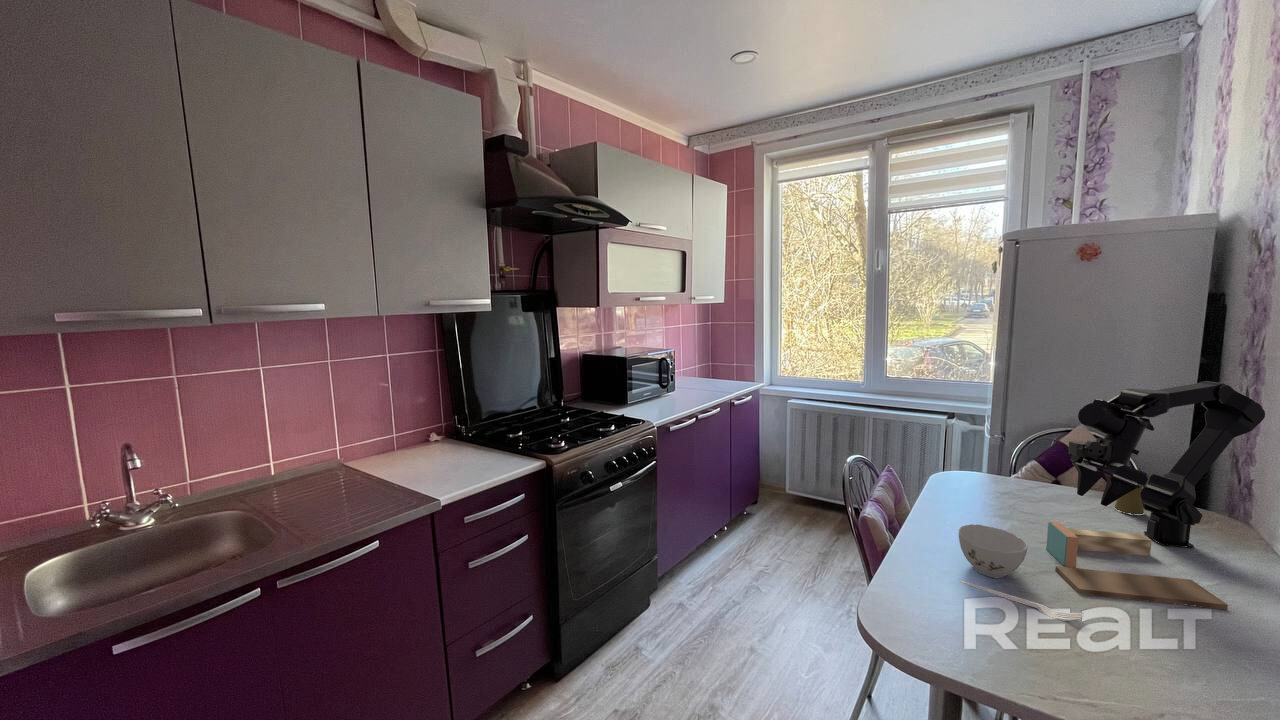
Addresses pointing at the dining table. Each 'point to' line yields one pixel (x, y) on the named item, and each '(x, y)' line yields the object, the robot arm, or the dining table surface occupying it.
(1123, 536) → the oak scraper
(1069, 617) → the fork
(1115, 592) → the rest board
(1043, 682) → the dining table surface
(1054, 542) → the glazed tile
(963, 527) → the floral ceramic bowl
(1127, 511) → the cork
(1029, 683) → the dining table surface
